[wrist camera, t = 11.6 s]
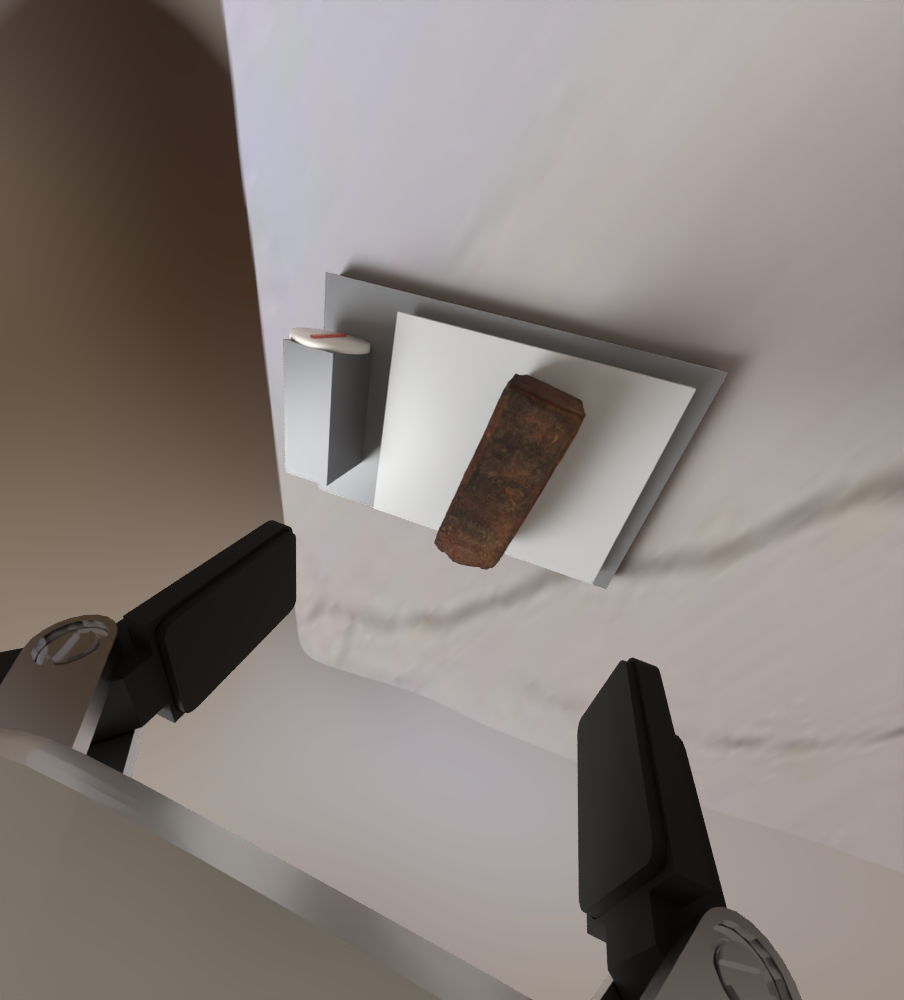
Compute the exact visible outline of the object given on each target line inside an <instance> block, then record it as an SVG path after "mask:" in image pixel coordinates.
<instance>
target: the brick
mask: <svg viewBox="0 0 904 1000" xmlns="http://www.w3.org/2000/svg"><path fill="white" fill-rule="evenodd" d="M584 411H585V410H584V408H583V401H582V400H580V399H578V398H576V397H574V396H572V395H570V394H568V393H566V392H564V391H561V390H559V389H557V388H555V387H553V386H551V385H549V384H547V383H545V382H543V381H540V380H538V379H536V378H534V377H532V376H529V375H527V374H525V375H519V374H516V373H515V374H514V376H513V377H512V379H511V380H510V381H508V383H507V385H506V387H505V388H504V390H503V392H502V394H501V396H500V398H499V400H498V402H497V405H496V407H495V409H494V411H493V414H492V416H491V418H490V420H489V422H488V425H487V427H486V429H485V431H484V434H483V436H482V438H481V440H480V442H479V444H478V446H477V448H476V451H475V453H474V455H473V457H472V459H471V461H470V463H469V465H468V468H467V469H466V471H465V473H464V475H463V478H462V480H461V482H460V485H459V487H458V489H457V491H456V493H455V496H454V498H453V499H452V502H451V504H450V506H449V508H448V510H447V512H446V515H445V517H444V519H443V521H442V524H441V526H440V528H439V530H438V533H437V536H436V539H435V542H434V543H435V544H436V546H437V547H438V549H439V550H440V551H441V552H445V553H446V554H447V555H448V557H449V558H450V559H451V560H452V561H453V562H456V563H458V564H461V565H466V566H473V567H480V568H481V569H489V568H493V567H494V566H495V565H496V564H497V563H498V561H499V560H500V558H501V557H502V556H503V554H504V553H505V551H506V549H507V548H508V546H509V544H510V543H511V541H512V540H513V538H514V537H515V535H516V534H517V532H518V530H519V529H520V527H521V525H522V524H523V522H524V520H525V519H526V517H527V516H528V514H529V512H530V511H531V509H532V508H533V506H534V504H535V503H536V501H537V499H538V498H539V496H540V495H541V493H542V491H543V489H544V488H545V486H546V484H547V483H548V481H549V479H550V478H551V476H552V474H553V472H554V471H555V469H556V467H557V466H558V464H559V463H560V462H561V460H562V459H563V457H564V455H565V453H566V451H567V450H568V448H569V446H570V445H571V443H572V442H573V440H574V439H575V437H576V435H577V433H578V431H579V429H580V427H581V424H582V422H583V420H584V418H585V416H586V414H585V412H584Z"/></svg>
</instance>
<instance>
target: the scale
mask: <svg viewBox="0 0 904 1000" xmlns="http://www.w3.org/2000/svg"><path fill="white" fill-rule="evenodd" d="M283 354H284V419H285V472H287V473H290V474H293V475H296V476H299V477H302V478H305V479H308V480H311V481H313V482H316V483H318V489H320V490H323V491H326V492H329V493H332V494H335V495H338V496H341V497H343V498H346V499H349V500H352V501H355V502H358V503H361V504H364V505H366V506H369V507H372V508H374V509H377V510H380V511H383V512H385V513H388V514H391V515H394V516H397V517H400V518H403V519H406V520H408V521H411V522H414V523H417V524H420V525H423V526H426V527H429V528H431V529H434V530H437V531H438V530H439V528H440V526H441V524H442V521H443V519H444V517H445V515H446V512H447V510H448V508H449V506H450V504H451V502H452V499H453V498H454V496H455V493H456V491H457V489H458V487H459V485H460V482H461V480H462V478H463V475H464V473H465V471H466V469H467V468H468V465H469V463H470V461H471V459H472V457H473V455H474V453H475V451H476V448H477V446H478V444H479V442H480V440H481V438H482V436H483V434H484V431H485V429H486V427H487V425H488V422H489V420H490V418H491V416H492V414H493V411H494V409H495V407H496V405H497V402H498V400H499V398H500V396H501V394H502V392H503V390H504V388H505V387H506V385H507V383H508V381H510V380H511V379H512V377H513V376H514V374H515V373H516V374H519V375H525V374H527V375H529V376H532V377H534V378H536V379H538V380H540V381H543V382H545V383H547V384H549V385H551V386H553V387H555V388H557V389H559V390H561V391H564V392H566V393H568V394H570V395H572V396H574V397H576V398H578V399H580V400H582V401H583V408H584V410H585V411H584V412H585V414H586V416H585V418H584V420H583V422H582V424H581V427H580V429H579V431H578V433H577V435H576V437H575V439H574V440H573V442H572V443H571V445H570V446H569V448H568V450H567V451H566V453H565V455H564V457H563V459H562V460H561V462H560V463H559V464H558V466H557V467H556V469H555V471H554V472H553V474H552V476H551V478H550V479H549V481H548V483H547V484H546V486H545V488H544V489H543V491H542V493H541V495H540V496H539V498H538V499H537V501H536V503H535V504H534V506H533V508H532V509H531V511H530V512H529V514H528V516H527V517H526V519H525V520H524V522H523V524H522V525H521V527H520V529H519V530H518V532H517V534H516V535H515V537H514V538H513V540H512V541H511V543H510V544H509V546H508V548H507V549H506V551H505V553H504V554H506V555H509V556H512V557H515V558H518V559H521V560H523V561H526V562H529V563H532V564H535V565H538V566H541V567H544V568H546V569H549V570H552V571H555V572H558V573H561V574H564V575H567V576H569V577H572V578H575V579H578V580H581V581H584V582H587V583H590V584H594V585H596V586H599V587H602V588H605V589H606V588H607V586H608V585H609V583H610V581H611V579H612V578H613V576H614V574H615V572H616V571H617V569H618V567H619V565H620V563H621V562H622V560H623V558H624V556H625V555H626V553H627V551H628V549H629V548H630V546H631V544H632V542H633V540H634V539H635V537H636V535H637V533H638V532H639V530H640V528H641V526H642V524H643V523H644V521H645V519H646V517H647V516H648V514H649V512H650V510H651V509H652V507H653V505H654V503H655V501H656V500H657V498H658V496H659V494H660V493H661V491H662V489H663V487H664V486H665V484H666V482H667V480H668V478H669V477H670V475H671V473H672V471H673V470H674V468H675V466H676V464H677V463H678V461H679V459H680V457H681V455H682V454H683V452H684V450H685V448H686V447H687V445H688V443H689V441H690V440H691V438H692V436H693V434H694V432H695V431H696V429H697V427H698V425H699V424H700V422H701V420H702V418H703V417H704V415H705V413H706V411H707V409H708V408H709V406H710V404H711V402H712V401H713V399H714V397H715V395H716V394H717V392H718V390H719V388H720V386H721V385H722V383H723V381H724V379H725V378H726V376H727V374H728V372H725V371H722V370H719V369H715V368H711V367H707V366H703V365H699V364H695V363H691V362H687V361H683V360H679V359H675V358H671V357H667V356H663V355H659V354H655V353H651V352H647V351H643V350H639V349H635V348H631V347H627V346H623V345H619V344H615V343H611V342H607V341H603V340H599V339H595V338H591V337H586V336H582V335H578V334H574V333H570V332H566V331H562V330H558V329H554V328H550V327H546V326H542V325H538V324H534V323H530V322H526V321H522V320H518V319H514V318H510V317H506V316H502V315H498V314H494V313H490V312H486V311H482V310H478V309H474V308H470V307H466V306H462V305H458V304H454V303H450V302H446V301H442V300H438V299H434V298H430V297H426V296H422V295H418V294H414V293H410V292H406V291H402V290H398V289H394V288H390V287H386V286H382V285H378V284H374V283H370V282H366V281H362V280H357V279H353V278H349V277H345V276H341V275H337V274H332V273H327V272H326V281H325V309H324V330H320V329H312V328H292V329H290V339H283Z"/></svg>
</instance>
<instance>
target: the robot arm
mask: <svg viewBox="0 0 904 1000" xmlns="http://www.w3.org/2000/svg"><path fill="white" fill-rule="evenodd" d="M295 602H296V536H295V534H293V532H292V529H291V527H289V526H286V525H284V524H281V523H279V522H276V521H273V520H270V521H268V522H266V523H264V524H263V525H261V526H260V527H258V528H257V529H255V530H254V531H252V532H251V533H249V534H248V535H246V536H244V537H243V538H241V539H240V540H238V541H237V542H235V543H234V544H232V545H231V546H229V547H228V548H226V549H225V550H223V551H222V552H220V553H218V554H217V555H215V556H214V557H212V558H211V559H209V560H208V561H206V562H205V563H203V564H202V565H200V566H199V567H197V568H196V569H194V570H193V571H191V572H190V573H188V574H186V575H185V576H183V577H182V578H180V579H179V580H177V581H176V582H174V583H173V584H171V585H170V586H168V587H167V588H165V589H164V590H162V591H160V592H159V593H157V594H156V595H154V596H153V597H151V598H150V599H148V600H147V601H145V602H144V603H142V604H141V605H139V606H138V607H136V608H135V609H133V610H132V611H130V612H128V613H127V614H126V615H124V616H123V617H124V618H123V619H122V620H120V621H119V622H118V623H115V621H114V620H112V619H111V618H109V617H107V616H102V615H82V616H78V617H73V618H69V619H66V620H63V621H61V622H58V623H56V624H54V625H52V626H50V627H48V628H46V629H44V630H42V631H41V632H40V633H38V634H37V635H36V636H34V637H33V638H32V639H30V641H29V642H28V643H27V644H26V645H25V647H24V648H21V649H16V650H10V651H5V652H0V1000H532V999H530V998H528V997H526V996H524V995H523V994H521V993H519V992H518V991H516V990H514V989H513V988H511V987H509V986H508V985H506V984H504V983H502V982H500V981H499V980H497V979H495V978H494V977H492V976H490V975H489V974H487V973H485V972H483V971H481V970H479V969H478V968H476V967H474V966H472V965H471V964H469V963H467V962H465V961H463V960H462V959H460V958H458V957H456V956H454V955H453V954H451V953H449V952H447V951H445V950H443V949H442V948H440V947H438V946H436V945H435V944H433V943H431V942H429V941H428V940H426V939H424V938H422V937H420V936H419V935H417V934H415V933H413V932H411V931H409V930H408V929H406V928H404V927H402V926H401V925H399V924H397V923H395V922H393V921H392V920H390V919H388V918H386V917H384V916H382V915H381V914H379V913H377V912H375V911H374V910H372V909H370V908H368V907H366V906H365V905H363V904H361V903H359V902H357V901H355V900H354V899H352V898H350V897H348V896H346V895H345V894H343V893H341V892H339V891H337V890H336V889H334V888H332V887H330V886H328V885H326V884H325V883H323V882H321V881H319V880H317V879H316V878H314V877H312V876H310V875H308V874H307V873H305V872H303V871H301V870H299V869H297V868H296V867H294V866H292V865H290V864H288V863H287V862H285V861H283V860H281V859H279V858H277V857H276V856H274V855H272V854H270V853H268V852H266V851H265V850H263V849H261V848H259V847H257V846H255V845H254V844H252V843H250V842H248V841H247V840H245V839H243V838H241V837H239V836H237V835H236V834H234V833H232V832H230V831H228V830H226V829H225V828H223V827H221V826H219V825H217V824H215V823H214V822H212V821H210V820H208V819H206V818H204V817H202V816H201V815H199V814H197V813H195V812H193V811H191V810H190V809H188V808H186V807H184V806H182V805H180V804H179V803H177V802H175V801H173V800H171V799H169V798H167V797H165V796H164V795H162V794H160V793H158V792H156V791H155V790H153V789H151V788H149V787H147V786H145V785H143V784H142V783H140V782H138V781H136V780H134V779H132V778H131V777H132V773H133V770H134V765H135V762H136V758H137V754H138V750H139V746H140V743H141V739H142V734H143V731H144V727H145V724H146V723H147V722H148V721H149V720H150V719H151V718H153V717H154V716H155V715H156V714H158V715H160V716H162V717H164V718H166V719H168V720H170V721H172V722H174V723H175V722H176V721H177V720H178V719H179V718H180V717H181V716H182V715H183V714H184V713H189V712H192V711H193V710H194V709H196V708H197V707H198V706H199V705H200V704H201V703H202V702H203V701H204V700H205V699H206V698H207V697H208V695H210V694H211V693H212V691H214V689H215V688H216V687H217V686H218V685H219V684H220V683H221V682H222V681H223V680H224V679H225V678H226V677H227V676H228V675H229V674H230V673H231V672H232V671H233V670H234V669H235V668H236V667H237V666H238V665H239V664H240V663H241V662H242V661H243V660H244V659H245V658H246V657H247V656H248V655H249V653H250V652H252V650H253V649H254V648H255V647H256V646H257V645H258V644H259V643H260V642H261V641H262V640H263V639H264V638H265V637H266V636H267V635H268V634H269V633H270V632H271V631H272V630H273V629H274V628H275V627H276V626H277V624H279V623H280V622H281V621H282V620H283V619H284V618H285V617H286V615H288V614H289V613H290V611H291V610H292V609H293V607H294V605H295ZM577 738H578V852H579V853H578V858H579V903H580V907H581V910H582V911H583V912H585V913H587V933H588V934H590V935H592V936H594V937H596V938H598V939H600V940H602V941H604V942H606V944H607V964H608V971H609V975H608V976H607V978H606V979H605V980H604V982H603V983H602V985H601V986H600V988H599V989H598V991H597V992H596V994H595V995H594V996H593V998H592V999H591V1000H802V999H801V996H800V994H799V991H798V989H797V986H796V984H795V981H794V980H793V978H792V976H791V974H790V972H789V971H788V969H787V967H786V965H785V964H784V962H783V960H782V958H781V957H780V955H779V954H778V953H777V951H776V950H775V949H774V947H773V946H772V944H771V943H770V942H769V940H768V939H767V938H766V937H765V936H764V935H763V934H762V933H761V932H760V931H759V930H758V929H757V928H756V927H755V926H754V924H752V923H751V922H750V921H749V920H747V919H746V918H745V917H743V916H742V915H740V914H739V913H737V912H736V911H733V910H730V909H727V907H726V903H725V899H724V895H723V892H722V888H721V884H720V880H719V876H718V872H717V868H716V865H715V861H714V857H713V853H712V849H711V845H710V842H709V838H708V834H707V830H706V826H705V822H704V818H703V815H702V811H701V807H700V803H699V799H698V795H697V792H696V788H695V784H694V780H693V776H692V772H691V768H690V765H689V761H688V757H687V753H686V750H685V747H684V744H683V742H682V740H681V739H680V738H679V736H677V735H675V732H674V728H673V724H672V720H671V715H670V711H669V707H668V703H667V699H666V695H665V691H664V687H663V683H662V679H661V675H660V671H659V669H658V668H657V667H656V666H653V665H651V664H648V663H646V662H643V661H640V660H638V659H635V658H630V659H629V660H628V661H627V662H626V661H624V660H622V661H620V662H619V664H618V665H617V667H616V668H615V670H614V671H613V672H612V674H611V675H610V677H609V678H608V680H607V681H606V683H605V684H604V686H603V687H602V688H601V690H600V691H599V693H598V694H597V696H596V697H595V699H594V700H593V702H592V703H591V704H590V706H589V707H588V709H587V710H586V712H585V713H584V715H583V716H582V718H581V719H580V722H579V726H578V734H577Z"/></svg>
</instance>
